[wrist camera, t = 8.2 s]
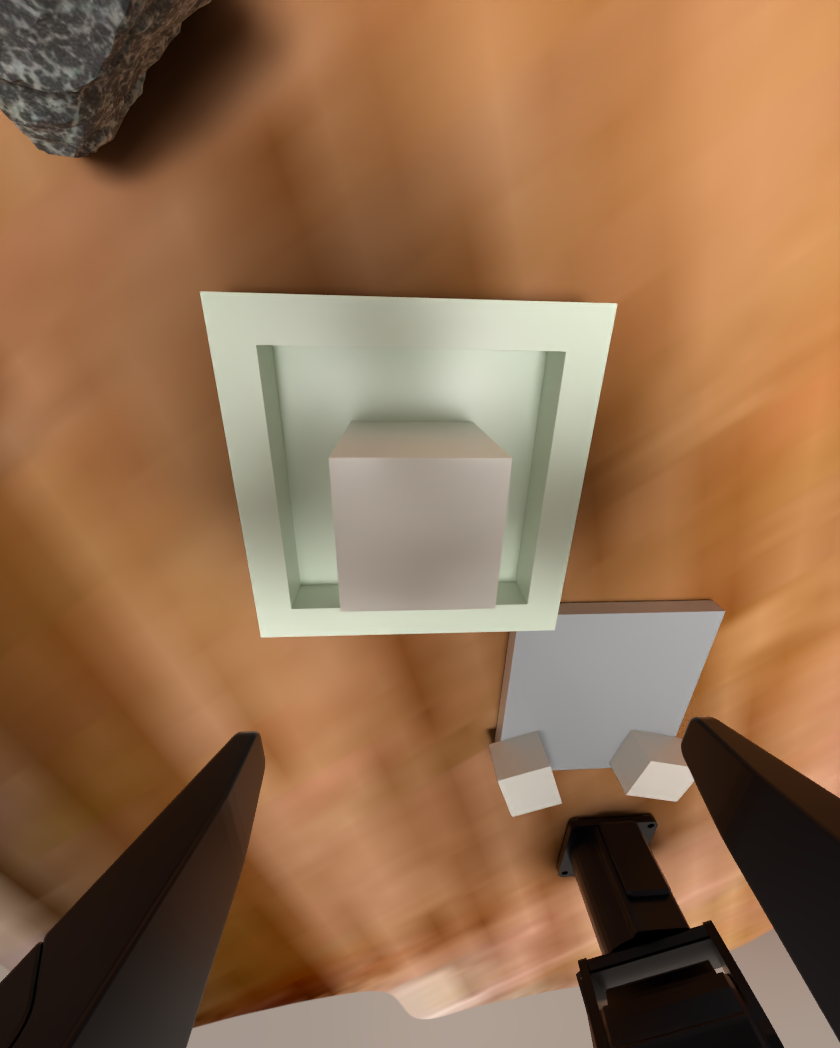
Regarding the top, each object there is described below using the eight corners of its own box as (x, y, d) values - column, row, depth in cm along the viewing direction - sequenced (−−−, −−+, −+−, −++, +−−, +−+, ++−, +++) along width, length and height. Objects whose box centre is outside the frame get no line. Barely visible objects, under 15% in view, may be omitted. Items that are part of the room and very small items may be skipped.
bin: (537, 599, 21) (554, 630, 19) (276, 604, 20) (261, 637, 18) (584, 310, 16) (617, 303, 13) (230, 300, 15) (199, 291, 12)
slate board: (657, 757, 27) (690, 807, 24) (480, 765, 26) (491, 818, 23) (718, 600, 22) (768, 639, 19) (500, 604, 21) (517, 645, 18)
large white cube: (465, 531, 18) (495, 608, 13) (356, 532, 18) (340, 611, 13) (472, 421, 16) (512, 458, 11) (350, 420, 16) (328, 457, 11)
